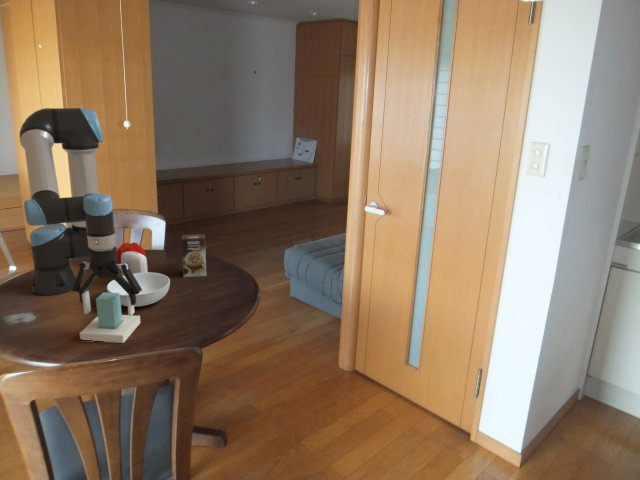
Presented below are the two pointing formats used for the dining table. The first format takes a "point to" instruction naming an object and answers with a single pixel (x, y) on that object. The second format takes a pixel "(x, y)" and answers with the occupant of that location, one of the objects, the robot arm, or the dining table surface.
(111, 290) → the serving bowl
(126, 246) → the tomato
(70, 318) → the dining table surface
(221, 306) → the dining table surface
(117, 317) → the teal square peg
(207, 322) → the dining table surface
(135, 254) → the photo printer
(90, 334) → the white square frame
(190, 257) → the coffee box
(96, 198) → the robot arm
